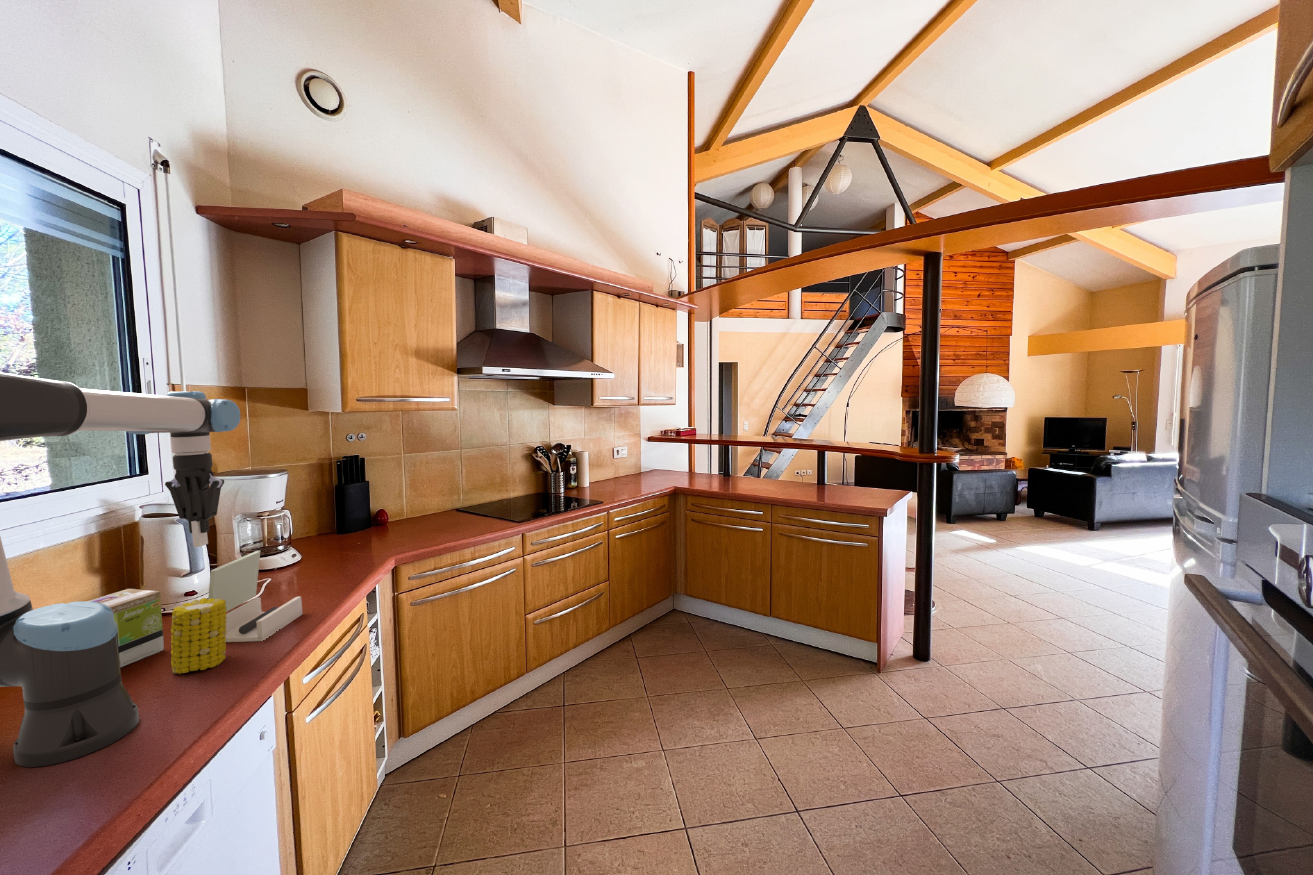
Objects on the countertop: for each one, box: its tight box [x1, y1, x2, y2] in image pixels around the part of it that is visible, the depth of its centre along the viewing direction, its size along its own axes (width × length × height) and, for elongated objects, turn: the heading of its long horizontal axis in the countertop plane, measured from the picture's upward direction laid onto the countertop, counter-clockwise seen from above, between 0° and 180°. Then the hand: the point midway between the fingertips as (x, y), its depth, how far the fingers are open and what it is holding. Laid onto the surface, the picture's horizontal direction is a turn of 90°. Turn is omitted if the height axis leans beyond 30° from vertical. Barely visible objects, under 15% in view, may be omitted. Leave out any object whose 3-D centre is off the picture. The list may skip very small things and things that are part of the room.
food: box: [170, 597, 227, 675], centre depth 122 cm, size 15×12×10 cm
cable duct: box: [225, 596, 303, 643], centre depth 141 cm, size 16×12×5 cm
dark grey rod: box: [239, 606, 279, 634], centre depth 142 cm, size 13×2×2 cm, turn 2°
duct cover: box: [207, 550, 261, 613], centre depth 140 cm, size 16×12×1 cm
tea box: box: [87, 588, 165, 669], centre depth 123 cm, size 15×10×15 cm
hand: (200, 545), depth 139 cm, fingers closed
